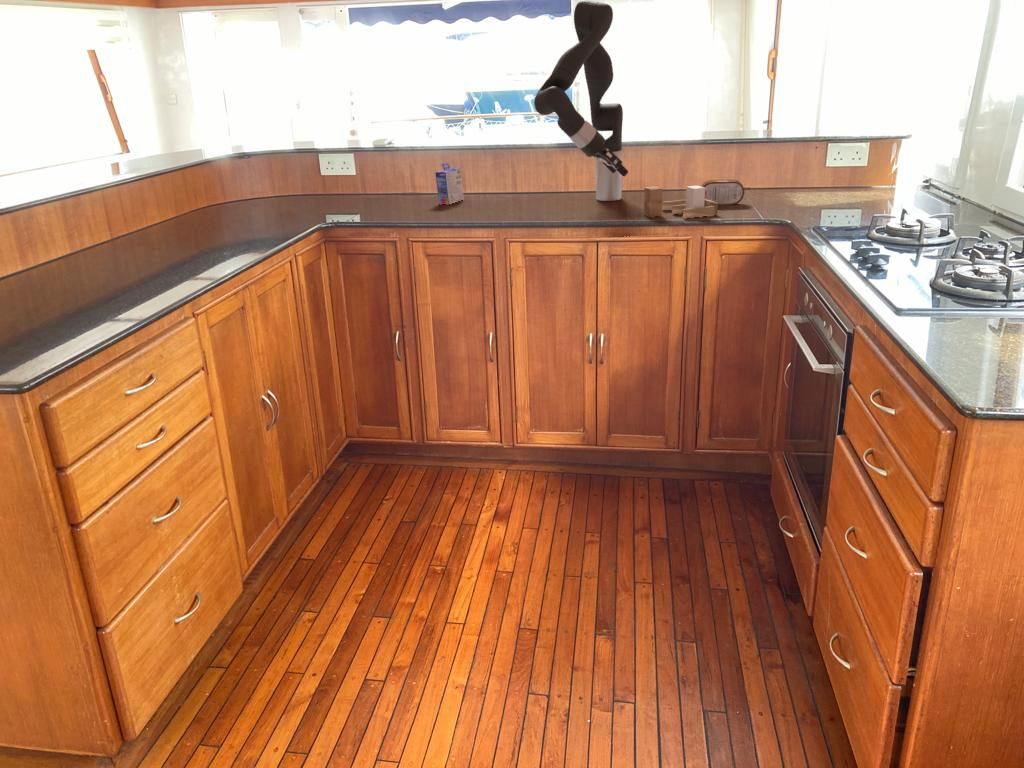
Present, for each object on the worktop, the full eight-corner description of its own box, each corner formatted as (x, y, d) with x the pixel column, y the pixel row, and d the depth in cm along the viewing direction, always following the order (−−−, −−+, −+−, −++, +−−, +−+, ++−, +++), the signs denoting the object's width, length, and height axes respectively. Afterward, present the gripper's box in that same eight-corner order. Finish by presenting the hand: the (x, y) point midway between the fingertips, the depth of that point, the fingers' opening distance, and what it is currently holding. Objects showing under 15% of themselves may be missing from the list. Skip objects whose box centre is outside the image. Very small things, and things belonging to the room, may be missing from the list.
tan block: (643, 215, 265) (644, 187, 261) (655, 213, 266) (655, 186, 262) (650, 217, 260) (651, 189, 257) (661, 216, 261) (662, 188, 258)
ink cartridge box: (452, 199, 308) (449, 161, 303) (464, 200, 306) (461, 161, 300) (437, 204, 301) (434, 165, 295) (449, 205, 298) (446, 165, 292)
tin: (742, 203, 275) (744, 178, 272) (744, 205, 272) (746, 180, 269) (698, 204, 276) (699, 180, 273) (699, 206, 274) (700, 181, 270)
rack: (662, 210, 269) (662, 198, 268) (694, 207, 272) (694, 195, 271) (683, 219, 256) (684, 206, 254) (717, 215, 258) (717, 202, 257)
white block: (685, 214, 262) (686, 186, 259) (696, 213, 263) (697, 185, 260) (692, 217, 258) (693, 188, 254) (703, 215, 259) (705, 187, 255)
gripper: (603, 130, 240) (637, 166, 248) (586, 126, 253) (619, 160, 260) (586, 149, 241) (621, 184, 248) (570, 145, 254) (604, 178, 261)
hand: (620, 172), depth 254 cm, fingers open, 8 cm apart
